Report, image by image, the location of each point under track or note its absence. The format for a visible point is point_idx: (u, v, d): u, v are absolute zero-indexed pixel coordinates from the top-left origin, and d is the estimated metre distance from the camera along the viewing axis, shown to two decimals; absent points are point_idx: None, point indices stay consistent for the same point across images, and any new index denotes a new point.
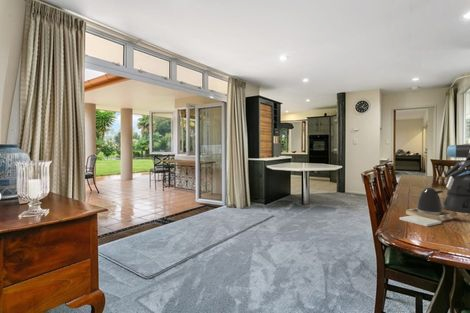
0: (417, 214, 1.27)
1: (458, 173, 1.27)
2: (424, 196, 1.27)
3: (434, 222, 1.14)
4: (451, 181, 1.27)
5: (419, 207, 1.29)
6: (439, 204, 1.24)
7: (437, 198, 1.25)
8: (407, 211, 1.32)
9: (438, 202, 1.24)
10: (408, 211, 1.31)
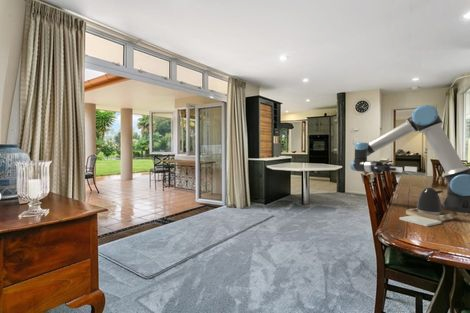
0: (417, 214, 1.27)
1: None
2: (424, 196, 1.27)
3: (434, 222, 1.14)
4: (408, 169, 1.44)
5: (419, 207, 1.29)
6: (439, 204, 1.24)
7: (437, 198, 1.25)
8: (407, 211, 1.32)
9: (438, 202, 1.24)
10: (408, 211, 1.31)
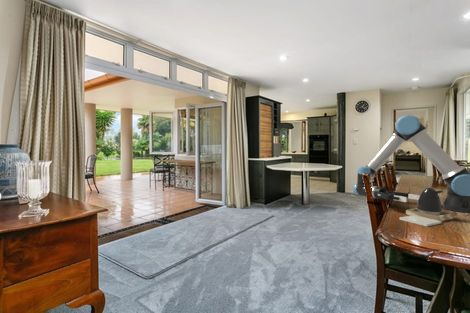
0: (417, 214, 1.27)
1: (401, 195, 1.46)
2: (424, 196, 1.27)
3: (434, 222, 1.14)
4: (412, 197, 1.42)
5: (419, 207, 1.29)
6: (439, 204, 1.24)
7: (437, 198, 1.25)
8: (407, 211, 1.32)
9: (438, 202, 1.24)
10: (408, 211, 1.31)
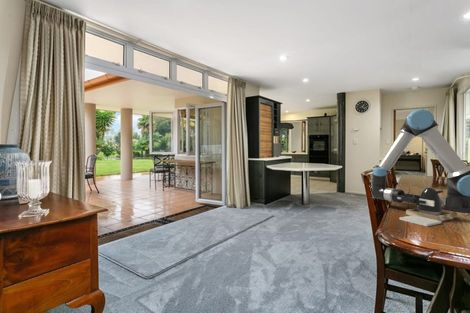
0: (417, 214, 1.27)
1: None
2: (424, 196, 1.27)
3: (434, 222, 1.14)
4: None
5: (419, 207, 1.29)
6: (439, 204, 1.24)
7: (437, 198, 1.25)
8: (407, 211, 1.32)
9: (438, 202, 1.24)
10: (408, 211, 1.31)
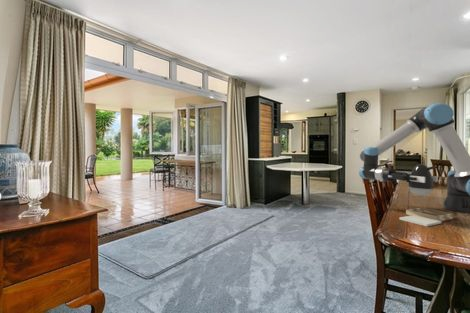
0: (417, 214, 1.27)
1: None
2: (415, 173, 1.22)
3: (434, 222, 1.14)
4: None
5: (410, 184, 1.23)
6: (431, 181, 1.18)
7: (429, 174, 1.19)
8: (407, 211, 1.32)
9: (429, 178, 1.18)
10: (408, 211, 1.31)
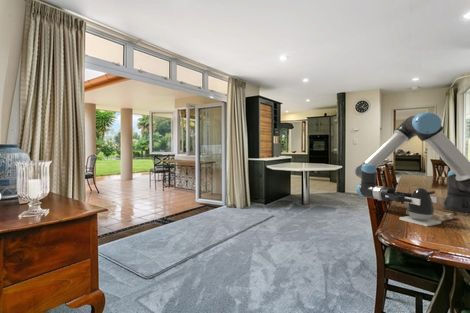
0: None
1: None
2: None
3: (434, 222, 1.14)
4: None
5: (409, 209, 1.19)
6: (431, 206, 1.15)
7: (429, 199, 1.15)
8: (407, 211, 1.32)
9: (430, 204, 1.15)
10: None
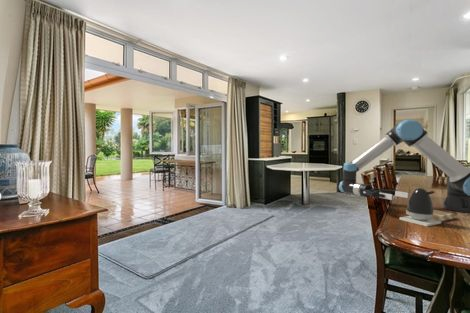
0: None
1: (388, 192, 1.38)
2: (414, 198, 1.18)
3: (434, 222, 1.14)
4: (399, 194, 1.34)
5: (409, 209, 1.19)
6: (430, 206, 1.15)
7: (428, 199, 1.15)
8: (407, 211, 1.32)
9: (429, 204, 1.15)
10: None
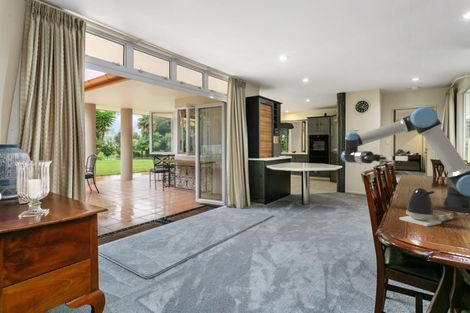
0: None
1: None
2: (414, 198, 1.18)
3: (434, 222, 1.14)
4: (399, 158, 1.40)
5: (409, 209, 1.19)
6: (430, 206, 1.15)
7: (428, 199, 1.15)
8: (407, 211, 1.32)
9: (429, 204, 1.15)
10: None
